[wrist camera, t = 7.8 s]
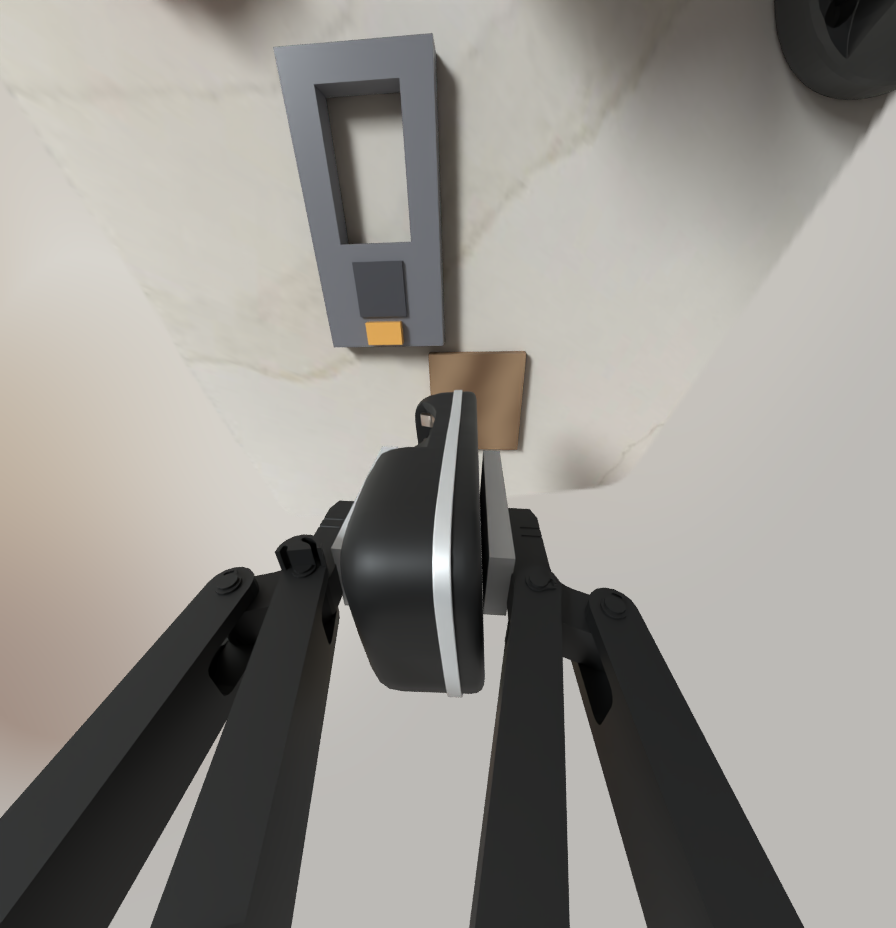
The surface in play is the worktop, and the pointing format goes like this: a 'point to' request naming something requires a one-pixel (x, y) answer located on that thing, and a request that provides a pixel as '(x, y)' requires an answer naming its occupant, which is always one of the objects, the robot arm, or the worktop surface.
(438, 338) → the grey flat piece
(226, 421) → the worktop surface
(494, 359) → the walnut board
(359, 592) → the battery charger
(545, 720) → the robot arm
